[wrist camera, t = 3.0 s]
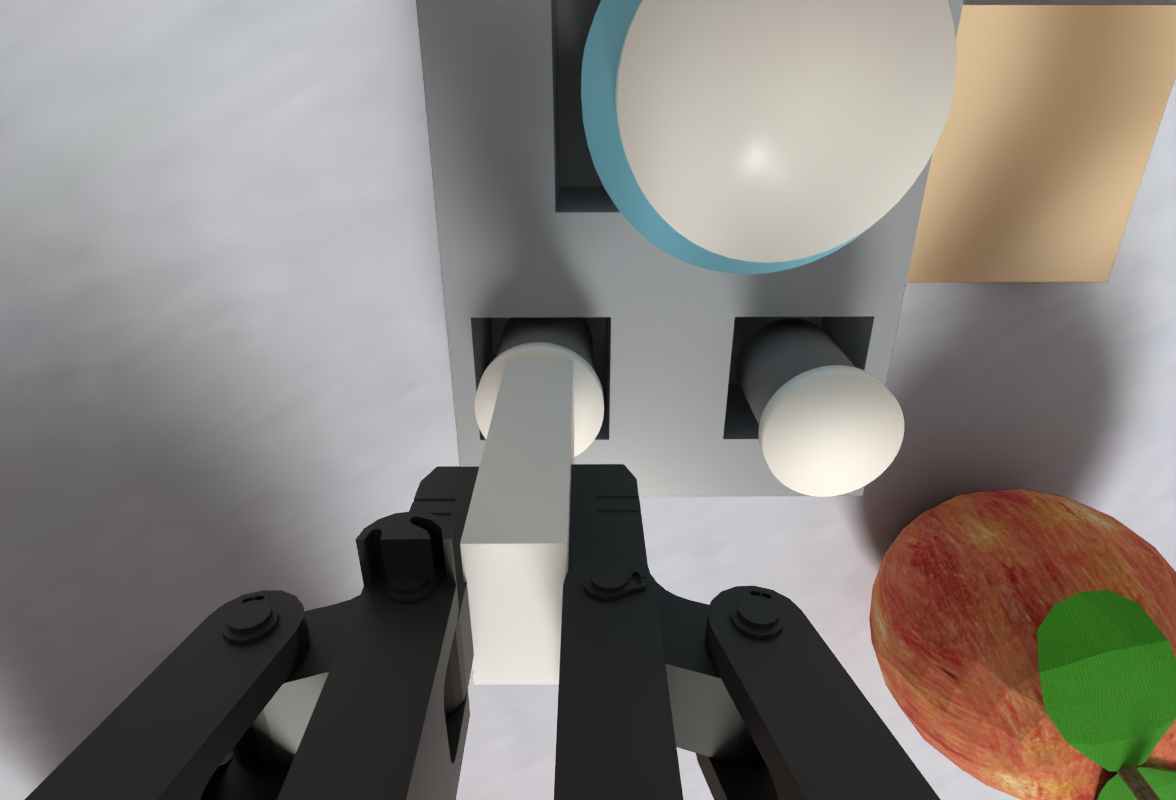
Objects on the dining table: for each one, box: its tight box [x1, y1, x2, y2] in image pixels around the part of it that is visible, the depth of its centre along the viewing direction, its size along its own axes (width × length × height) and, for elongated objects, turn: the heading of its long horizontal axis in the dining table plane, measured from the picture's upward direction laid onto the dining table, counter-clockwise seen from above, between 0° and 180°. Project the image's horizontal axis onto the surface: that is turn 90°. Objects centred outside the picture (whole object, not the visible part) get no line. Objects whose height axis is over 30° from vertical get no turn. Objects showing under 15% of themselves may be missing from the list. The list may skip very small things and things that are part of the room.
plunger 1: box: [475, 317, 604, 457], centre depth 18 cm, size 3×3×4 cm
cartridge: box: [581, 0, 957, 274], centre depth 13 cm, size 4×4×12 cm
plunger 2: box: [737, 318, 904, 497], centre depth 17 cm, size 3×3×4 cm
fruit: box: [870, 489, 1176, 800], centre depth 21 cm, size 9×10×10 cm
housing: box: [416, 0, 964, 497], centre depth 18 cm, size 11×15×4 cm
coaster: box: [906, 5, 1176, 282], centre depth 19 cm, size 7×7×1 cm
